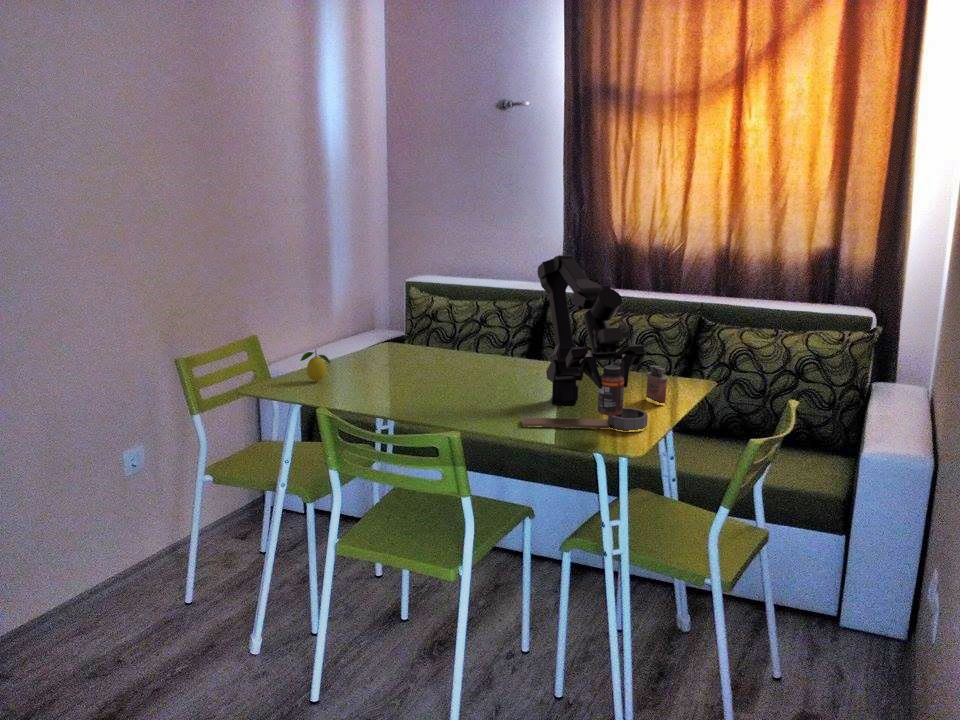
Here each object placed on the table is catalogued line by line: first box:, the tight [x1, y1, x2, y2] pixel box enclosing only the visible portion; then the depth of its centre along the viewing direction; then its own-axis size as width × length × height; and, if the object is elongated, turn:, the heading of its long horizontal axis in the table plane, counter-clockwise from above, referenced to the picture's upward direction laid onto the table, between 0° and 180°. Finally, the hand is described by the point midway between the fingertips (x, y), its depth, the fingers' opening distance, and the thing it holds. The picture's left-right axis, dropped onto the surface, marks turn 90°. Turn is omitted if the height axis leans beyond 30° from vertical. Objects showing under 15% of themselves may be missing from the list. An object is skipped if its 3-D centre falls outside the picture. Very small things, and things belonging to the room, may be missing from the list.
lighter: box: [645, 365, 669, 403], centre depth 250 cm, size 8×3×10 cm, turn 21°
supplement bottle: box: [597, 364, 625, 416], centre depth 218 cm, size 6×6×11 cm
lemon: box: [299, 349, 331, 383], centre depth 266 cm, size 7×6×10 cm
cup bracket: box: [521, 407, 649, 431], centre depth 229 cm, size 31×10×4 cm, turn 87°
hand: (613, 387), depth 217 cm, fingers closed on supplement bottle, 6 cm apart
